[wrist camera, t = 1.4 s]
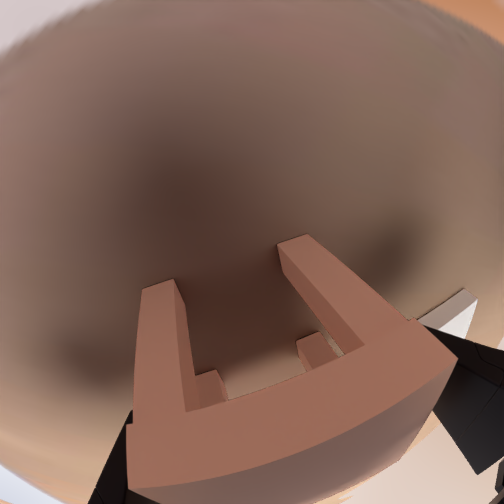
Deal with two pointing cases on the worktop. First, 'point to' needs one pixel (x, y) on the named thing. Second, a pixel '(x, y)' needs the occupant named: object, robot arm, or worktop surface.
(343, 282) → the stool
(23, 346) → the worktop surface
